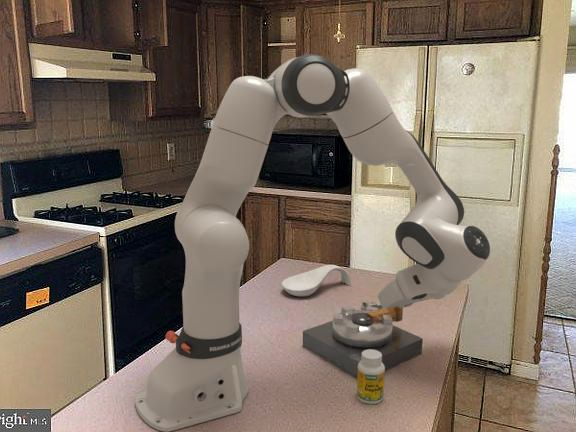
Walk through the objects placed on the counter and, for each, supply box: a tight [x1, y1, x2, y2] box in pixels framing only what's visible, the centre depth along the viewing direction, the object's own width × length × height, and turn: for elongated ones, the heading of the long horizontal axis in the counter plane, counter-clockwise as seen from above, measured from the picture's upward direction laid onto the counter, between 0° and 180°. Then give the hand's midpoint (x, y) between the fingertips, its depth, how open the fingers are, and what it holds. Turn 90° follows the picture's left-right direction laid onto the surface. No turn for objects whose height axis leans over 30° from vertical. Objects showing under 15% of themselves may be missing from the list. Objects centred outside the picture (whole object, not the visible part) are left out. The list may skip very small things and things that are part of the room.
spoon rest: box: [281, 264, 352, 298], centre depth 161 cm, size 24×12×7 cm, turn 121°
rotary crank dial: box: [332, 305, 404, 348], centre depth 122 cm, size 19×14×11 cm
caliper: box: [359, 301, 383, 310], centre depth 144 cm, size 20×1×6 cm, turn 139°
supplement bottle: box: [356, 349, 386, 405], centre depth 103 cm, size 5×5×10 cm
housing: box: [302, 320, 424, 379], centre depth 123 cm, size 20×20×4 cm
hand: (403, 304), depth 124 cm, fingers closed, pressing on rotary crank dial
